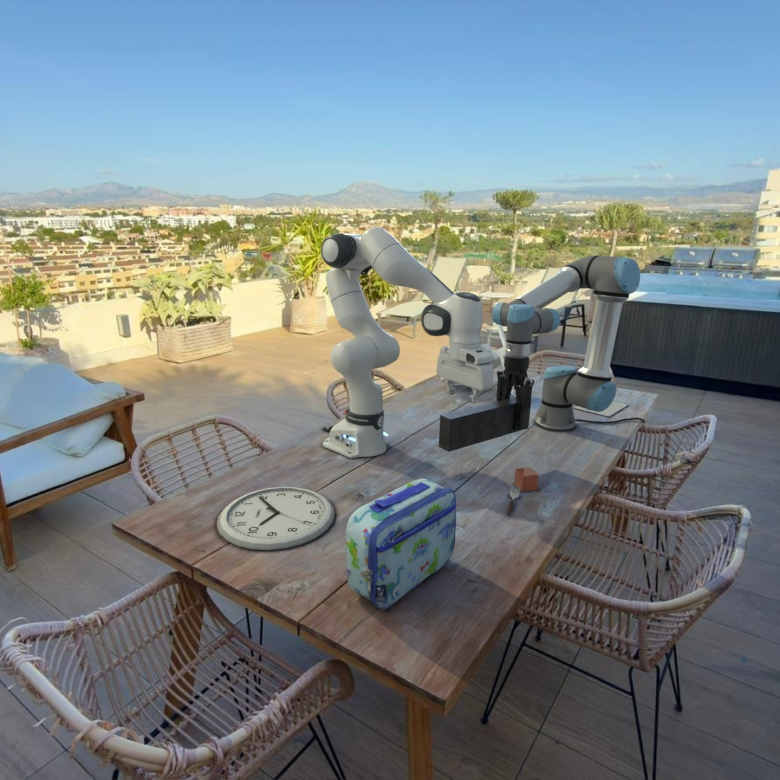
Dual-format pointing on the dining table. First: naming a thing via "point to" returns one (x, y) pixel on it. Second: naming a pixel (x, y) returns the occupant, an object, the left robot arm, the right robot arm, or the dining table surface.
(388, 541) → the lunch box
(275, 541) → the wall clock
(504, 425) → the bar
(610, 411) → the invitation card
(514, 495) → the fork
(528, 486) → the terracotta block
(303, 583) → the dining table surface
